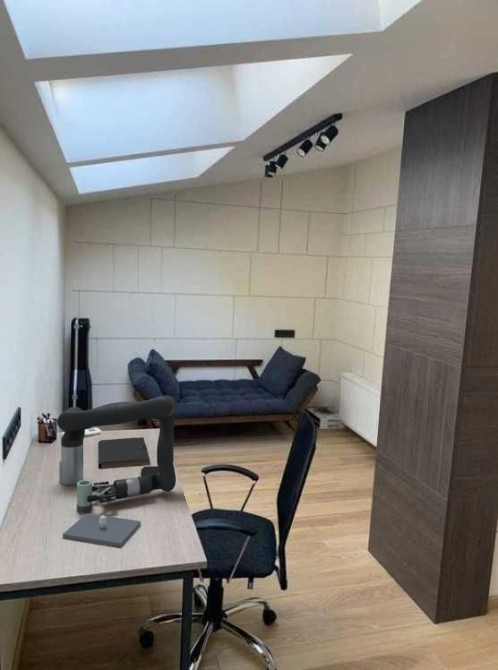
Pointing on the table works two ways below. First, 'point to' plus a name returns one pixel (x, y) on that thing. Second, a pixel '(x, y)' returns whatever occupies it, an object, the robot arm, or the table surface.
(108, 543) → the pin board
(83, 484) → the sleeve
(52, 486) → the table surface
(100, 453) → the dark grey book
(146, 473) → the carrying case or bag
